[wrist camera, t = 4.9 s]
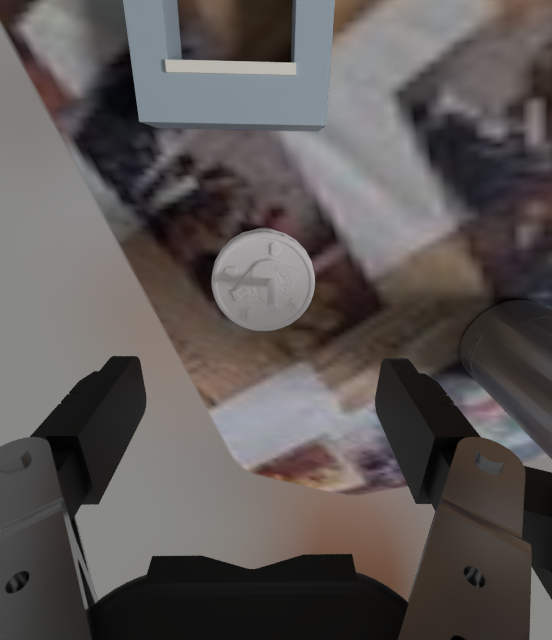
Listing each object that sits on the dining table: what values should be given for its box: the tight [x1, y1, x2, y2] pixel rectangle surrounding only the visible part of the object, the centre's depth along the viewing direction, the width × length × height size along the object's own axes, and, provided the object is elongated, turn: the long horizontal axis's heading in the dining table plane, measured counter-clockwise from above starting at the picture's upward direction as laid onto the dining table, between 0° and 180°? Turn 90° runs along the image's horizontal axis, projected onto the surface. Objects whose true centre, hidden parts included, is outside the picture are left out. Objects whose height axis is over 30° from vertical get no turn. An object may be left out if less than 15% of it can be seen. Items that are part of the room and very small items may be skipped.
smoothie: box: [212, 228, 315, 331], centre depth 23 cm, size 6×6×14 cm
